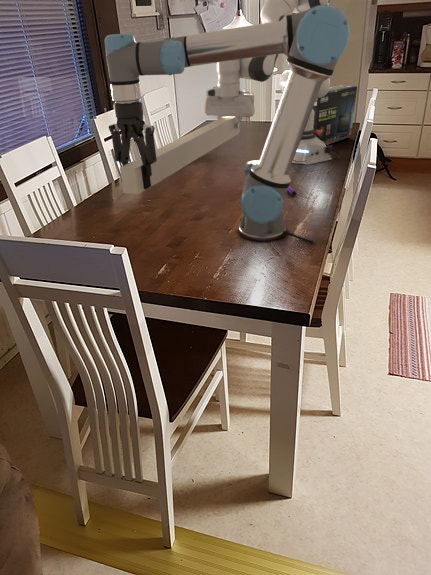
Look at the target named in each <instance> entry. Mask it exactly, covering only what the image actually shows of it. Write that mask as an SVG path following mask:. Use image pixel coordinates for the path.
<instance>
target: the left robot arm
mask: <svg viewBox="0 0 431 575" xmlns="http://www.w3.org/2000/svg"><path fill="white" fill-rule="evenodd" d="M349 39H350V25H349V22H348V19H347V17H346V15H345V14H344V12H342V11H341V10H340V9H339V8H338V7H337V6H333V5H330V4H328V5H326V4H324V5H318V6H315V7H312V8H310V9H308V10H305V11H303V12H300V13H292V15H286V16H284V18H283V19H282V20H281V21H276V22H270V23H264V24H263V23H259V24H257V23H256V24H251V25H246V26H238V27H234V28H227V29H220V30H214V31H209V32H201V33H196V34H188V35H183V36H176V37H167V38H165V39H161V40H158V41H157V40H156V41H146V42H141V41H136V39H135V36H134V34H133V33H116V34H115V33H113V34H108V35H106V36H105V38H104V49H105V59H106V66H107V70H108V77H109V84H110V90H111V97H112V101H113V102H114V103H113V110H114V116H115V118H116V123H113V124H110V125H108V130H109V132H110V135H111V142H112V148H113V155H114V160H115V162H118V163H120V164H121V167H122V166H124V165H126V164H128V163H130V162H131V159H130V156H131V155H130V154H131V140H132V139H133V142H134V143H135V145H136V148H137V151H138V153H139V156H140V157H141V160H142V163H143V165H142V166H141V171H142V178H143V186H144V189H146V190H148V189H150V188H151V187H152V186H151V181H150V176H152V171H151V164H153V163H155V162H156V161H157V159H156V151H155V150H156V145H155V144H156V143H155V135H154V134H155V130H156V128H155V126H154V125H148V124H147V123H146V121H145V120H144V106H143V101H142V100H141V99H142V90H141V83H140V82H141V81H140V76H142V77H143V76H164V75H165V76H173V75H181V74H183V73H184V72H185V68H190V67H196V66H202V65H210V64H216V63H218V62H225V61H232V60H239V59H247V58H254V57H261V56H268V55H275V54H279V55H282V54H283V55H285V57H286V65H287V66H288V70H290V71H289V74H288V77H287V80H286V83H285V86H284V89H283V92H282V91H281V95H280V98H279V100H278V104H277V107H276V109H275V112H274V116H273V119H272V121H271V124H270V128H269V131H268V133H267V137H266V139H265V143H264V145H263V148H262V151H261V154H260V157H259V159H257V160H250V161H247V162H246V163H245V164H244V170H243V173H244V182H243V188H242V192H241V193H242V194H241V196H240V199H239V203H240V208H241V212H242V216H241V217H240V218H239V225H238V232H239V235H240V236H241V237H242V238H244V239H247V240H250V241H254V242H271V241H277V240H279V239H281V238H283V237H285V235H287V236H289V237H293V238H296V239H298V240H300V241H303V242H306V243H310V244H313V243H314V240H312V239H307V238H305V237H302V236H300V235H298V234H295V233H291V232H289V231H287V223H286V221H285V216H284V214H283V210H284V205H285V203H284V201H285V198H286V196H287V192H288V188H289V186H291V183H292V178H291V176H290V174H289V172H290V170H291V167H292V164H293V163H292V162H293V159H294V156H295V154H296V151H297V148H298V146H299V143H300V141H301V138H302V135H303V133H304V130H305V127H306V125H307V122H308V119H309V117H310V114H311V112H312V109H313V106H314V104H315V101H316V98H317V96H318V93H319V91H320V88H321V85H322V83H323V82H324V81H325V80H327V79H328V78H329V79H330V78H332V76H333V73H334V71H335V69H336V66H337V64H338V60H339V58H340V57H341V56H342V55H343V54H344V51H345V50H346V49H347V46H348V43H349ZM140 157H139V158H140ZM149 187H150V188H149ZM147 188H148V189H147Z"/></svg>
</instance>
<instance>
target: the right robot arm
mask: <svg viewBox="0 0 431 575" xmlns="http://www.w3.org/2000/svg"><path fill="white" fill-rule="evenodd" d="M324 4H326V5H330V0H265V2H264V4H263V6H262V7H261V11H260V18H261V19H260V20H261V22H262V24H264V23H270V22H276V21H281V20H282V19H283V18H284V16H286V15H292V14H296V13H300V12H303V11H305V10H308V9H310V8H312V7H315V6H318V5H324ZM279 55H280V54H275V55H268V56H261V57H254V58H247V59H239V60H232V61H225V62H218V63H215V64H216V65H215V66H216V73H217V81H216V86H213V87H211V88H209V89H207V90H206V91H205V96H206V97H205V99H204V114H205V115H206V116H210V117H211V116H213V117H217V118H216V120H218V119H220V118H222V117H224V116H233V117H237V120H238V122H237V123H235V128H239V127H240V128H241V121H242V120H243V118H251V117H253V116H254V115H255V114H256V113H255V95H254V93H253V92H252V91H250V90H247V91H246V90H241V79H245V80H252V81H256V82H260V83H263V82H266V81H268V80H269V79H270V78H271V77H272V75H273V73H274V70H275V66H276V62H277V59H278V57H279ZM289 71H290V70H289V69H288V70H285V71H283V73H281V75H280V77H279V80H278V85H279V90H280V91H281V93H282V92H283V89H284V86H285V83H286V80H287V77H288V74H289ZM330 87H331V79H330V78H328V79H327V80H325V81H324V82H323V83H322V85H321V88H320V91H319V93H318V96H317V98H322V97H324V96H325V95H326V94H327V93H328V91H329V89H330ZM313 127H314V110H313V109H312V112H311V114H310V117H309V119H308V122H307V125H306V127H305V130H304V133H303V135H302V138H301V141H300V143H299V146H298V148H297V151H296V154H295V156H294V159H293V160H296V161H305V160H309V159H314V158H318V157H322V156H327V155H328V154H331V153H332V152H335V153H336V154H337V156H338V155H340V152H339V151H338V150H337V149H334V148H333V147H334V146H333V144H331V145H327V146H326V145H325V144H324V143H323V142H322V141H321V140H320V139H318V138H317V137H316V134H317V135H320V134H321V131H320V130H315V129H314V128H313ZM331 156H332V155H331ZM331 156H329V157H331ZM331 160H333V157H332V158H329V159H324V160H319V161H314V162H311V161H308V162H310V163H305V162H295V161H293V162H292V164H299V165H301V164H302V165H314V164H318V163H323V162H326V161H327V162H328V161H331Z"/></svg>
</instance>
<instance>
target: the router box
mask: <svg viewBox="0 0 431 575" xmlns="http://www.w3.org/2000/svg"><path fill="white" fill-rule="evenodd" d="M357 93H358V86H356V85H350V84H339V85H338V84H337V85H334V86H330V89H329V91H328V93H327V94H326V95H325V96H324V97H322V98H316V101H315V104H314V106H313V110H314V127H313V128H314V129H315V130H320V131H321V134H320V135H317V134H316V137H317V138H318V139H320V140H321V141H322V142H323V143H324V144H325V143H328V142H331V141H333V140H336V139H338V138H341V137H344V136H347V135H351V136H352V133H353V132H352V131H353V125H354V115H355V109H356V99H357Z"/></svg>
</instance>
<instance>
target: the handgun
mask: <svg viewBox="0 0 431 575" xmlns="http://www.w3.org/2000/svg"><path fill="white" fill-rule="evenodd" d="M287 192H288V193H289V194H290V195H291V196H292V197H295V196H296V195H297V192H296V190H294V189H293V187H292V186H291V185H289V188H288V190H287Z"/></svg>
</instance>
